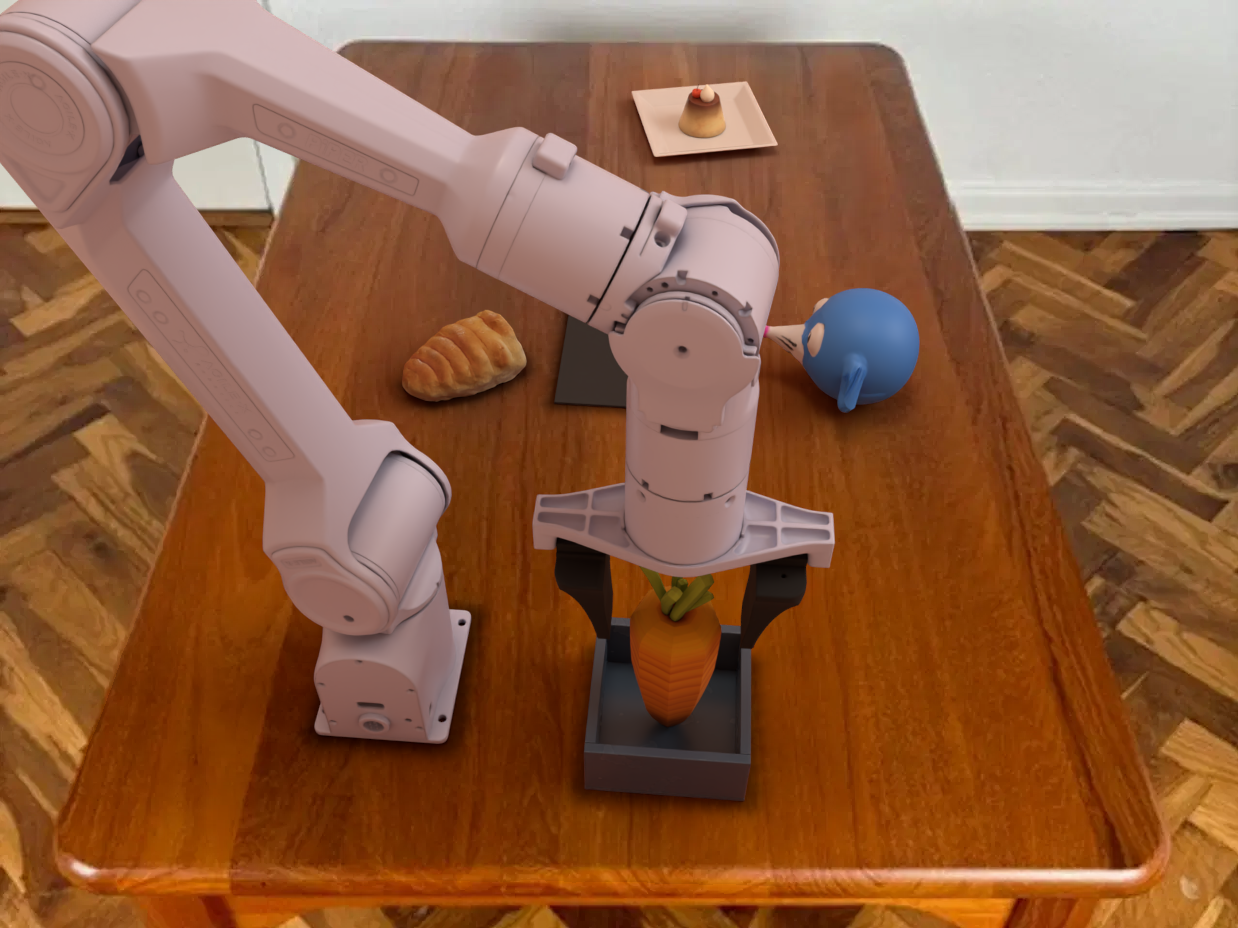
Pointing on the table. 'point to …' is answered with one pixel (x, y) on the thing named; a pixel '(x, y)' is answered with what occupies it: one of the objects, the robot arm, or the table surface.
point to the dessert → (702, 119)
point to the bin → (668, 756)
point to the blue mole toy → (854, 346)
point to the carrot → (674, 645)
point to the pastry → (464, 359)
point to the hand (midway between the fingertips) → (675, 628)
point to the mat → (589, 369)
